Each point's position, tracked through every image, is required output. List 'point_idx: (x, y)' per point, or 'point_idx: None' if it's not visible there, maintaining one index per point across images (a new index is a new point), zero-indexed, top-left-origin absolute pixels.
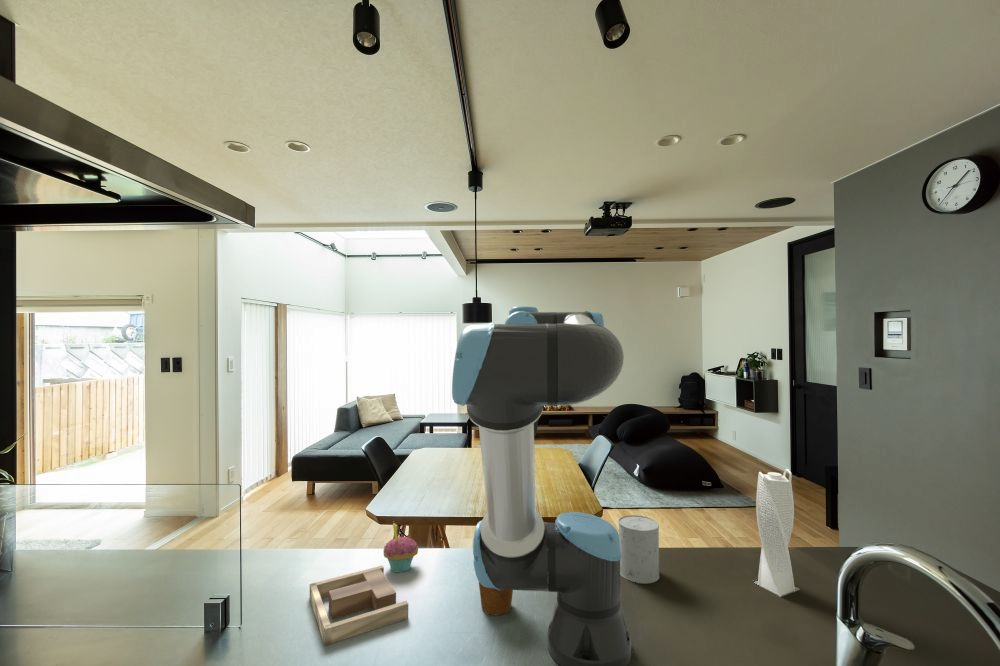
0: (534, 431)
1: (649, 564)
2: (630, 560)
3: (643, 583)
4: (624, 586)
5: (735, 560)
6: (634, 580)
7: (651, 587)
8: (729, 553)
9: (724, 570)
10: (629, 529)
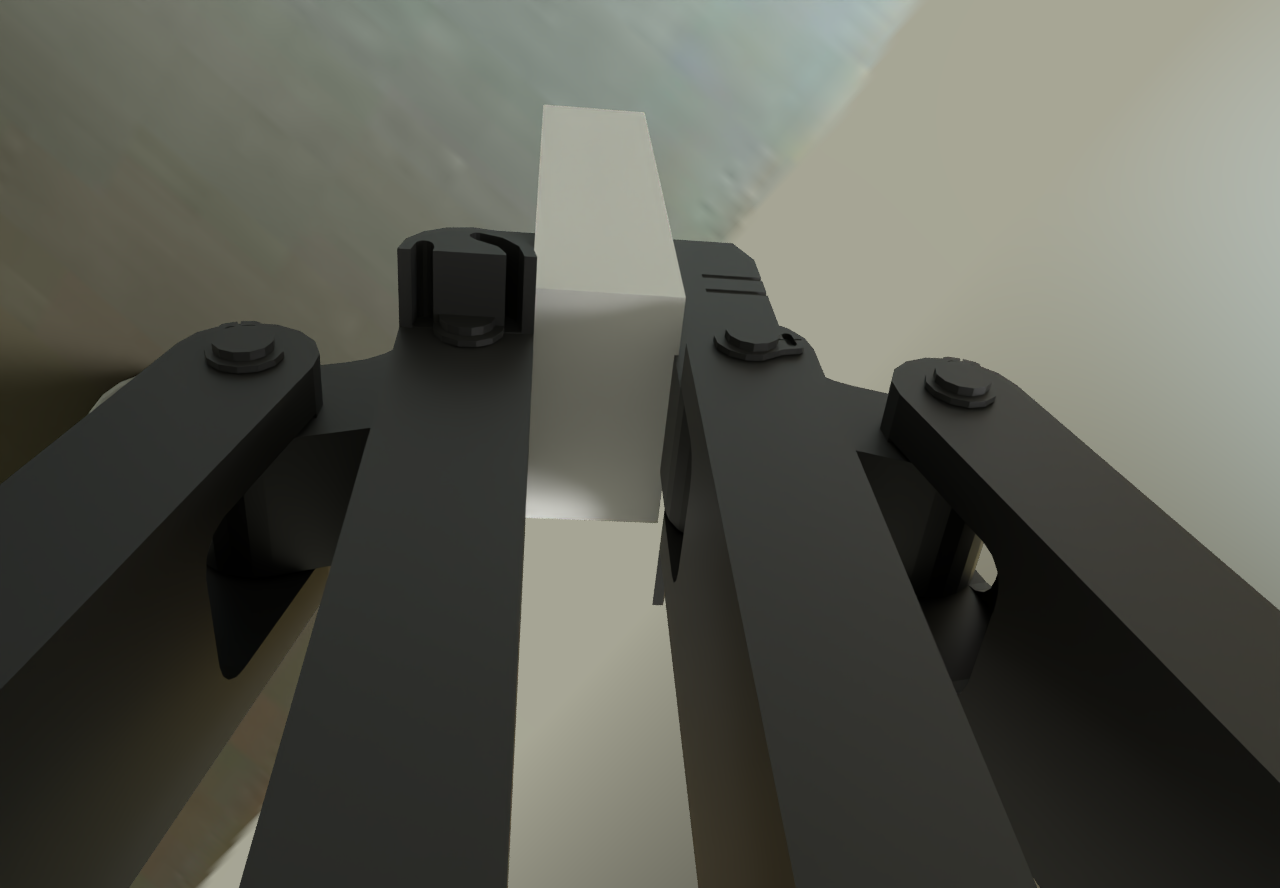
0: (212, 572)
1: None
2: None
3: (95, 406)
4: (110, 308)
5: None
6: (123, 385)
7: (45, 407)
8: (160, 865)
9: None
10: None
